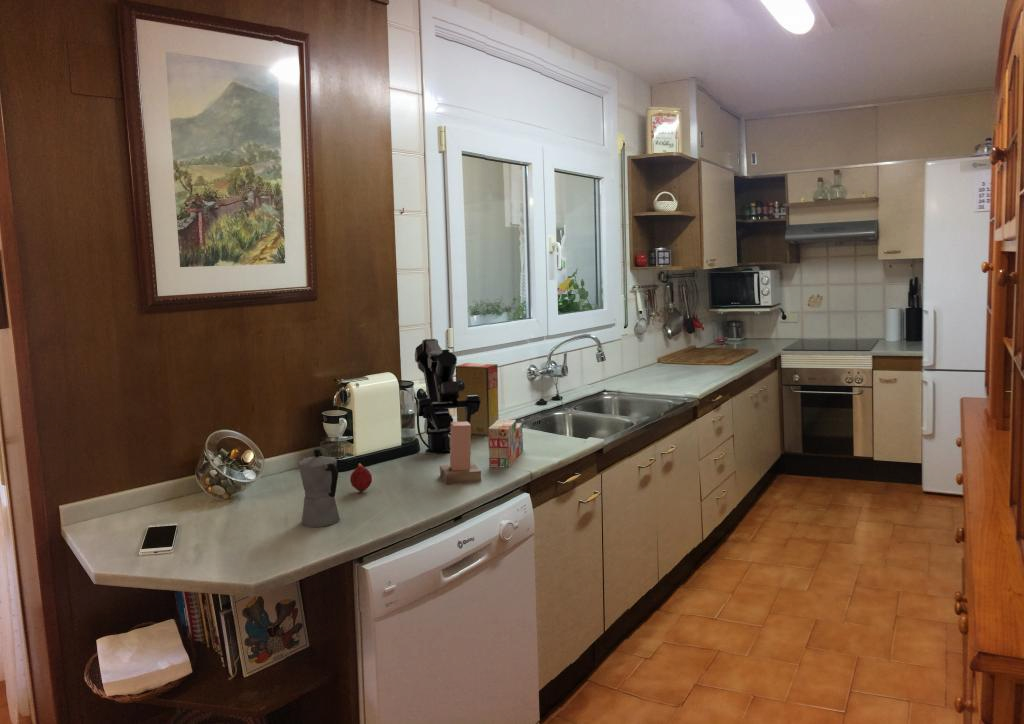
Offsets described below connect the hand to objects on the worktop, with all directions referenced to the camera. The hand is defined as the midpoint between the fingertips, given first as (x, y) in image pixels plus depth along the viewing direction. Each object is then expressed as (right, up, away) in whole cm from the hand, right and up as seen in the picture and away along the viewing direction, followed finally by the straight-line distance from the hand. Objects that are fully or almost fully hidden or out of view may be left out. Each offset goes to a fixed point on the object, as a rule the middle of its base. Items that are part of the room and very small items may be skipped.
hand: (453, 428), depth 224 cm
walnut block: (+2, -14, -6) cm, 16 cm away
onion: (-24, -16, -17) cm, 33 cm away
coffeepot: (-29, -19, -41) cm, 53 cm away
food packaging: (+5, -6, +54) cm, 54 cm away
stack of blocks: (+16, -11, +16) cm, 25 cm away
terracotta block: (+2, -11, -6) cm, 13 cm away
